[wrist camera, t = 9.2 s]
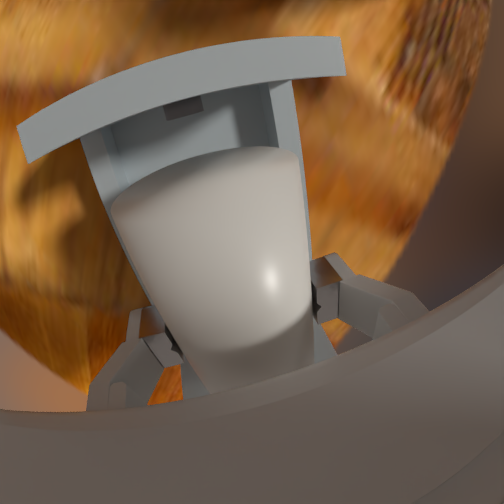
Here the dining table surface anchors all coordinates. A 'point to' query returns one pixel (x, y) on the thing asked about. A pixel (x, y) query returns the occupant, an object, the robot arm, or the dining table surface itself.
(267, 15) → the dining table surface
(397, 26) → the dining table surface
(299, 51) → the holder
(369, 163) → the dining table surface
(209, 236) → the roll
